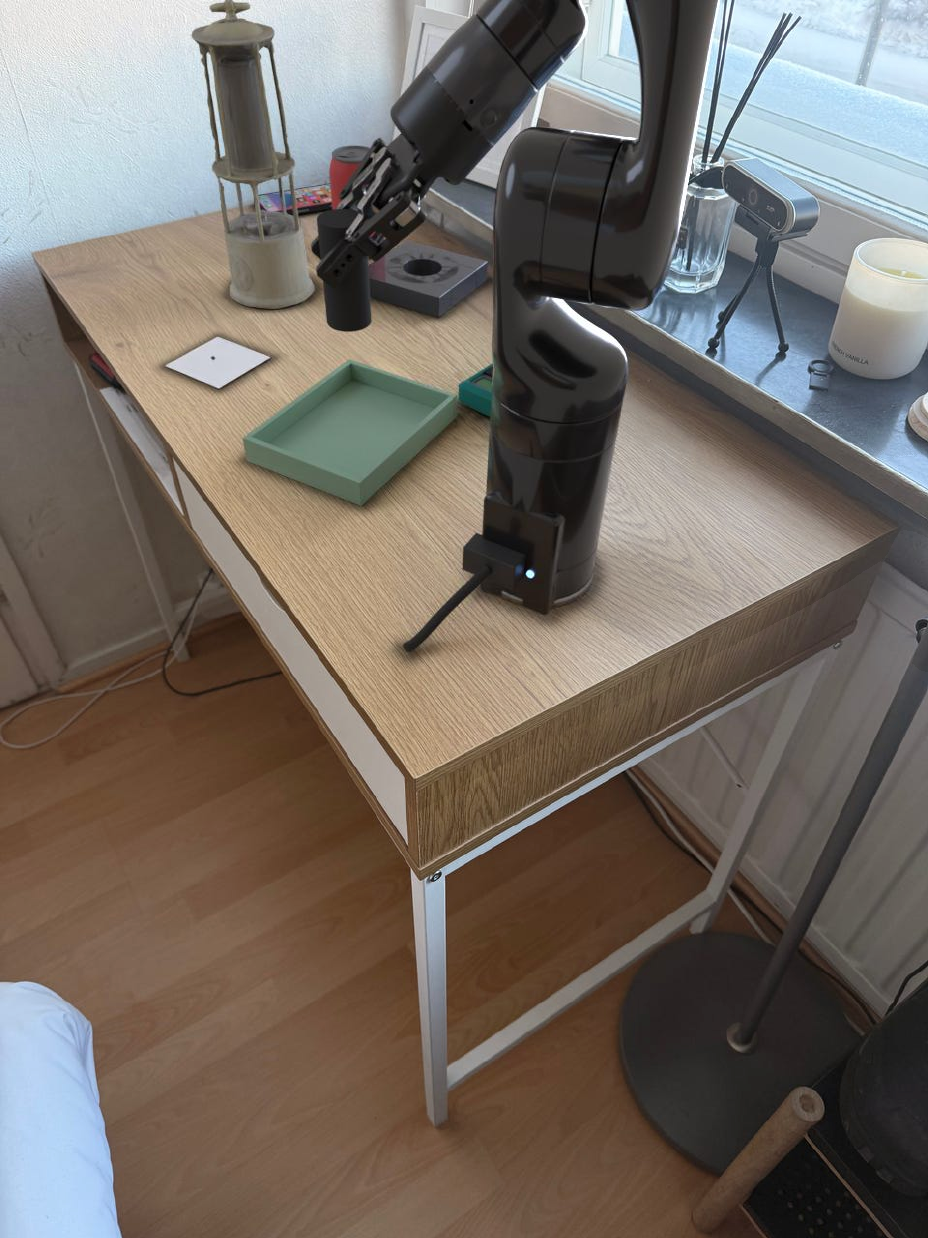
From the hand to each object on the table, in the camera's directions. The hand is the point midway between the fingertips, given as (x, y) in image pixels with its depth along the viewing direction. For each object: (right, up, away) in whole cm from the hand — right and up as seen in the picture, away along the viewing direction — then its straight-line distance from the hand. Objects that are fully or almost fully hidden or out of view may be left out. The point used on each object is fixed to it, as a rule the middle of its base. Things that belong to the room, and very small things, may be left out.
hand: (322, 267), depth 74 cm
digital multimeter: (+18, -5, +19) cm, 27 cm away
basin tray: (+1, -12, +12) cm, 17 cm away
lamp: (-12, +12, +35) cm, 39 cm away
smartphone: (-11, +31, +54) cm, 63 cm away
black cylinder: (+2, -3, +4) cm, 5 cm away
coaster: (-15, -2, +21) cm, 26 cm away
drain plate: (+7, +12, +36) cm, 38 cm away
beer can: (-2, +20, +43) cm, 47 cm away
